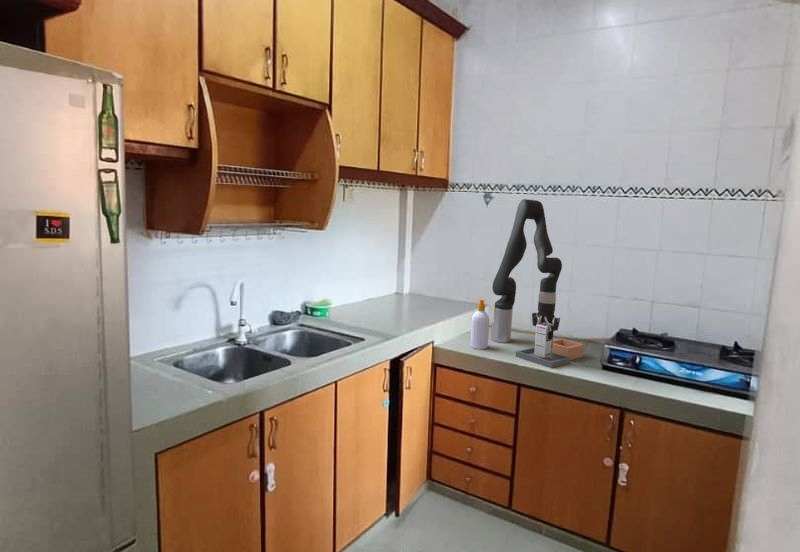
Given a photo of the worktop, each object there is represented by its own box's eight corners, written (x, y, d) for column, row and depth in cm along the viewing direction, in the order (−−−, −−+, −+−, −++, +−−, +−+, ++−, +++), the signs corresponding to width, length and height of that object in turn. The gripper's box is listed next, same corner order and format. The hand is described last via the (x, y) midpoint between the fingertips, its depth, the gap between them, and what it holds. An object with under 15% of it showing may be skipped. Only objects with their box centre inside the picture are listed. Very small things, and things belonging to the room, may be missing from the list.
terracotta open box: (544, 354, 249) (545, 341, 249) (560, 350, 257) (561, 338, 256) (567, 360, 240) (568, 348, 239) (582, 356, 247) (583, 344, 247)
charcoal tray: (515, 356, 244) (515, 351, 243) (534, 352, 252) (534, 346, 252) (551, 368, 228) (551, 362, 228) (570, 363, 237) (570, 357, 236)
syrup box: (544, 358, 236) (546, 326, 234) (533, 354, 240) (535, 324, 238) (551, 356, 239) (554, 325, 237) (541, 352, 244) (543, 322, 242)
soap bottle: (487, 344, 263) (489, 298, 259) (488, 349, 253) (491, 301, 250) (469, 343, 263) (472, 297, 260) (470, 348, 254) (473, 300, 251)
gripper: (528, 299, 240) (526, 335, 242) (555, 304, 228) (552, 342, 231) (539, 297, 244) (536, 333, 247) (565, 303, 233) (562, 339, 235)
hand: (544, 337), depth 239 cm, fingers closed on syrup box, 6 cm apart
